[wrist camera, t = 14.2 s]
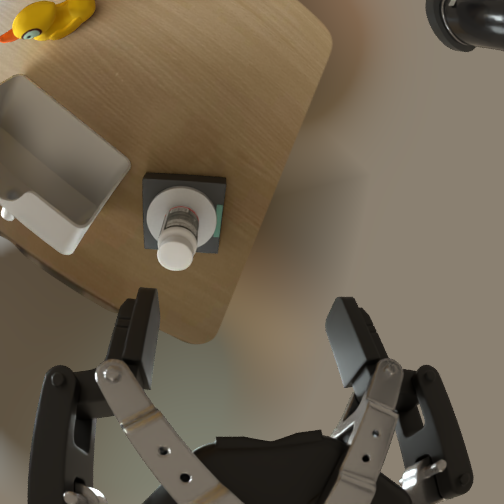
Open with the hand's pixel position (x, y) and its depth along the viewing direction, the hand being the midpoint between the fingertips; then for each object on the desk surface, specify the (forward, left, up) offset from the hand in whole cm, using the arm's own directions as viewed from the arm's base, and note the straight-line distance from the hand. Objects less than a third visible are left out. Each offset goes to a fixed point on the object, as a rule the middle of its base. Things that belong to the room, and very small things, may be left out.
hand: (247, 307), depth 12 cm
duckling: (+24, -18, -28) cm, 41 cm away
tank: (+27, +2, -28) cm, 39 cm away
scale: (+5, +10, -28) cm, 30 cm away
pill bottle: (+5, +10, -25) cm, 28 cm away
